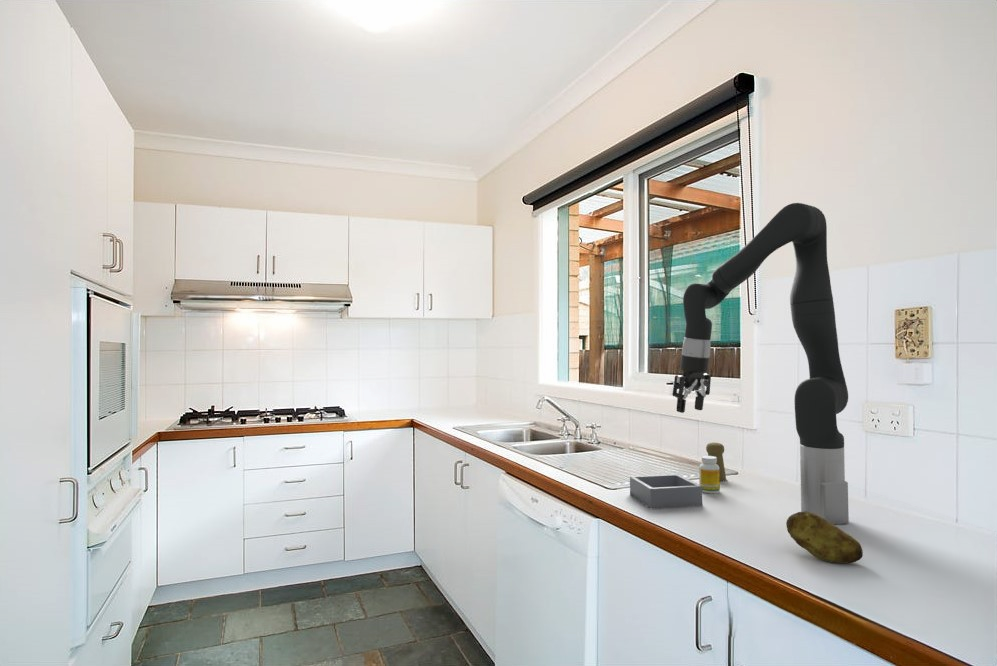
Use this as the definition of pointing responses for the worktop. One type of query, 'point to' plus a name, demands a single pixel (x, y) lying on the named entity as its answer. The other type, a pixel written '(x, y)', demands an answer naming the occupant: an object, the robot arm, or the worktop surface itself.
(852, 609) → the worktop surface
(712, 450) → the cork
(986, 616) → the worktop surface
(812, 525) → the potato
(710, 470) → the supplement bottle
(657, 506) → the box
